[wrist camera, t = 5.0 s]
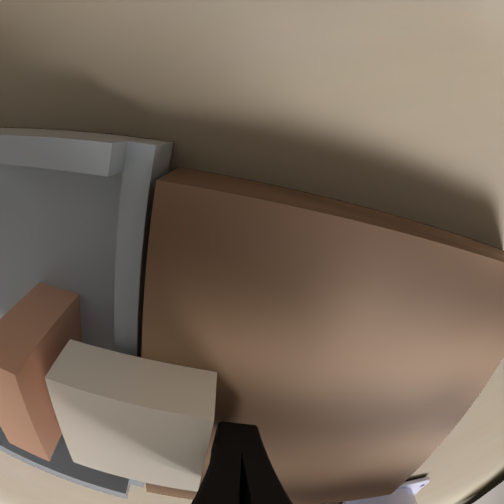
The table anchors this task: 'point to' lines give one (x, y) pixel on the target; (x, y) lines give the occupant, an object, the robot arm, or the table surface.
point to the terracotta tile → (34, 365)
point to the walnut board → (321, 327)
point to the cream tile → (133, 414)
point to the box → (79, 244)
